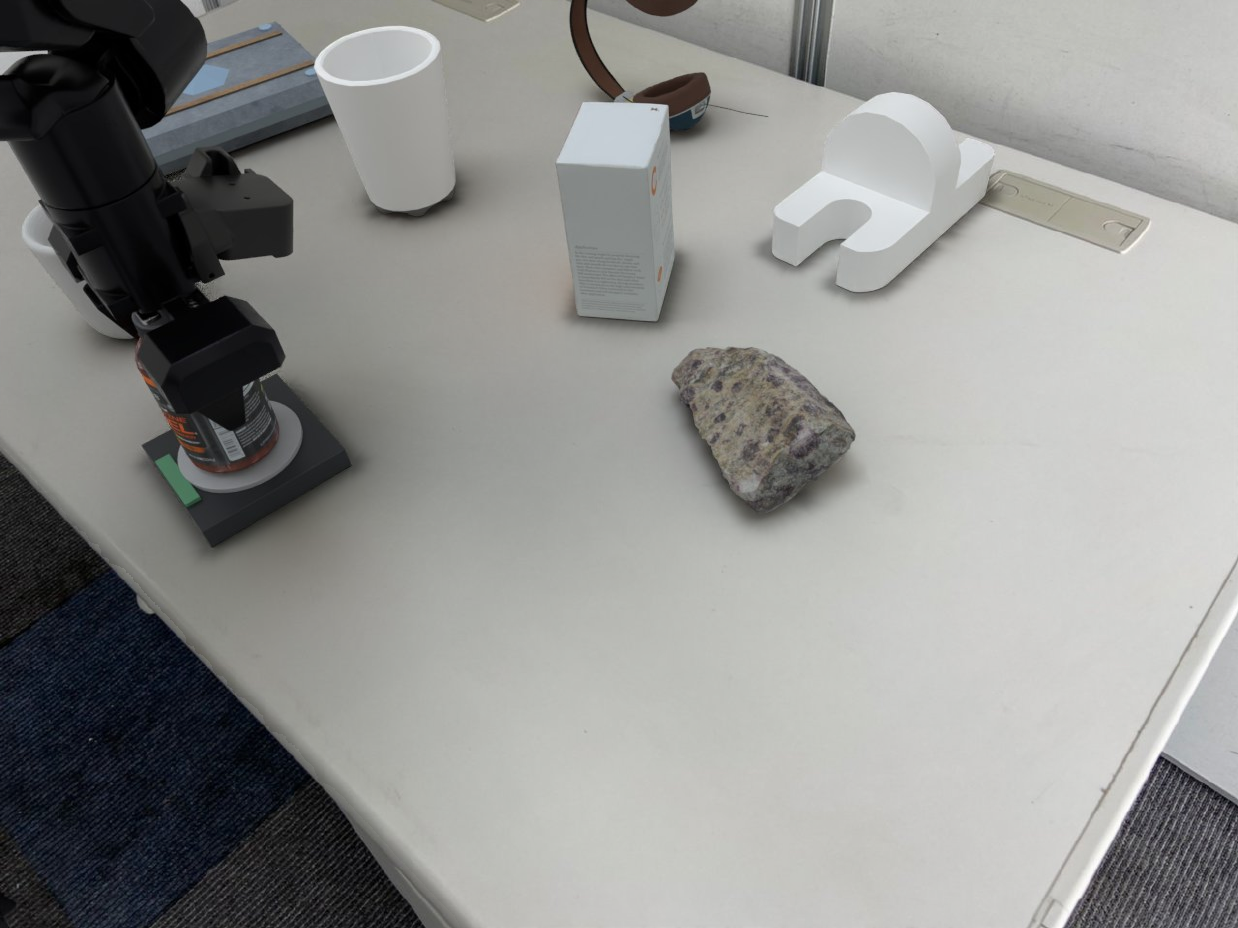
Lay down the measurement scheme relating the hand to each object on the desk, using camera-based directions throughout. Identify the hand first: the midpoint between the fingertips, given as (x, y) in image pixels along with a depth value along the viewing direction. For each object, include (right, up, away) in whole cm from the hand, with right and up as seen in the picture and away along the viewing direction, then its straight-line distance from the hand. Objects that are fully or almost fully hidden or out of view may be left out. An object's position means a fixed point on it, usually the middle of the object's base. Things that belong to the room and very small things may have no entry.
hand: (216, 400), depth 61 cm
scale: (0, -4, +5) cm, 6 cm away
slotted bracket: (+46, +16, +18) cm, 52 cm away
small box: (+26, +10, +14) cm, 31 cm away
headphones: (+30, +28, +30) cm, 51 cm away
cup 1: (-13, +9, +17) cm, 23 cm away
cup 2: (+7, +19, +25) cm, 32 cm away
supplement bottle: (0, -3, +3) cm, 4 cm away
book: (-15, +30, +36) cm, 49 cm away
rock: (+34, -2, +3) cm, 34 cm away
